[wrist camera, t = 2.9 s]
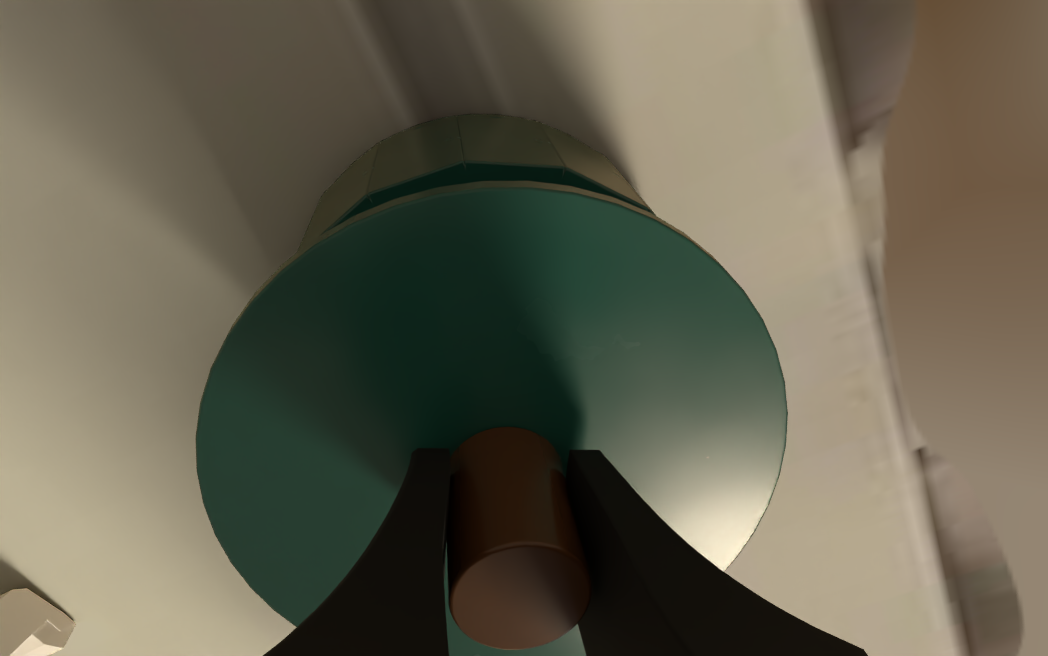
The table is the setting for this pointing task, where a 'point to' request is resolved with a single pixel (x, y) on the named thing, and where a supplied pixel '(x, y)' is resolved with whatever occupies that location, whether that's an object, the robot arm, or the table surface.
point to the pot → (466, 165)
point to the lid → (488, 400)
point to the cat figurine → (31, 625)
